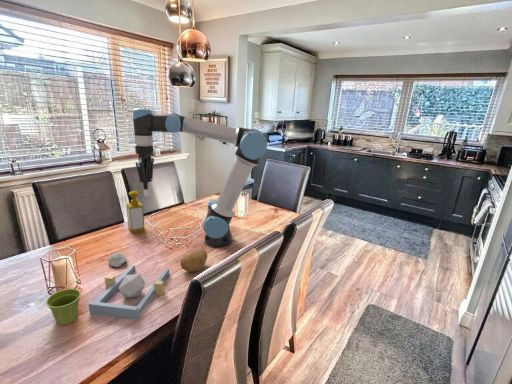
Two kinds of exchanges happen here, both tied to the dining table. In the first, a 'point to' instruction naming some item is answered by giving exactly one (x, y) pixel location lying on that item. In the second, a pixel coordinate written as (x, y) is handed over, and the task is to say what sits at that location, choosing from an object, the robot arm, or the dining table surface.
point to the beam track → (124, 310)
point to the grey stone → (117, 259)
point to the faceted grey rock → (132, 285)
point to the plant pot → (64, 305)
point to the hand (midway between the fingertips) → (147, 195)
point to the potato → (194, 261)
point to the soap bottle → (135, 214)
